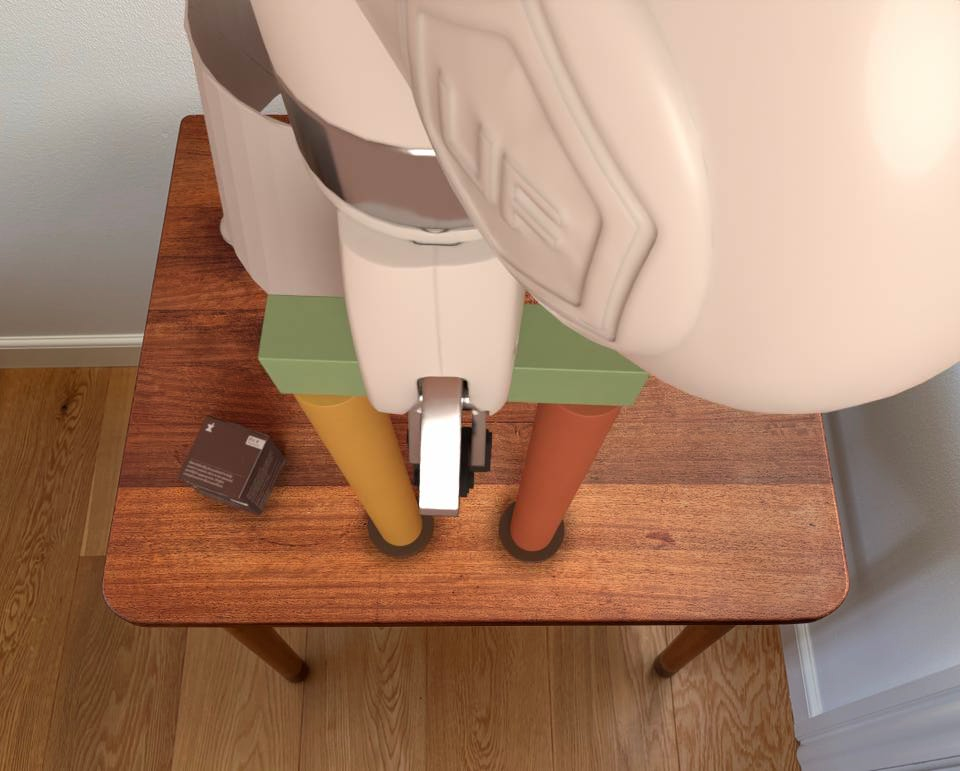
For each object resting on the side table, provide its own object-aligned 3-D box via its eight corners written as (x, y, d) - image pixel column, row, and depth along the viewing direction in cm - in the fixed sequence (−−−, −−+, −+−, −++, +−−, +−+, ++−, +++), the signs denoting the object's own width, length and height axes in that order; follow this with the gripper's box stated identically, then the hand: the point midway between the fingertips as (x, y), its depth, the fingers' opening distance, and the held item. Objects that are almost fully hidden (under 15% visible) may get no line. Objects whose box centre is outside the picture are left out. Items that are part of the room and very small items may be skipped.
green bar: (632, 406, 35) (651, 373, 31) (280, 393, 35) (256, 359, 31) (630, 346, 36) (648, 307, 32) (288, 334, 36) (267, 293, 32)
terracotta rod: (563, 565, 69) (656, 441, 34) (497, 562, 69) (521, 435, 34) (563, 499, 72) (651, 319, 36) (499, 497, 72) (524, 315, 36)
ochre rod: (431, 559, 69) (387, 430, 34) (366, 557, 70) (253, 425, 34) (435, 494, 72) (398, 310, 36) (371, 492, 72) (271, 305, 36)
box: (202, 496, 71) (173, 476, 65) (231, 437, 74) (206, 412, 67) (261, 517, 71) (238, 499, 64) (288, 458, 73) (269, 435, 66)
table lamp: (463, 485, 72) (452, 274, 35) (243, 364, 76) (23, 60, 39) (582, 279, 80) (677, -72, 43) (377, 180, 84) (301, -217, 47)
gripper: (325, -175, 21) (389, 195, 37) (225, 415, 15) (354, 555, 31) (595, -166, 21) (543, 201, 37) (610, 430, 15) (540, 562, 31)
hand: (457, 361), depth 34 cm, fingers open, 9 cm apart
